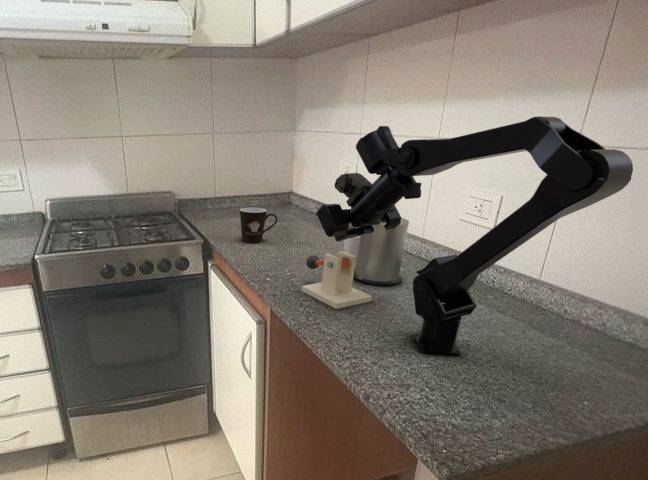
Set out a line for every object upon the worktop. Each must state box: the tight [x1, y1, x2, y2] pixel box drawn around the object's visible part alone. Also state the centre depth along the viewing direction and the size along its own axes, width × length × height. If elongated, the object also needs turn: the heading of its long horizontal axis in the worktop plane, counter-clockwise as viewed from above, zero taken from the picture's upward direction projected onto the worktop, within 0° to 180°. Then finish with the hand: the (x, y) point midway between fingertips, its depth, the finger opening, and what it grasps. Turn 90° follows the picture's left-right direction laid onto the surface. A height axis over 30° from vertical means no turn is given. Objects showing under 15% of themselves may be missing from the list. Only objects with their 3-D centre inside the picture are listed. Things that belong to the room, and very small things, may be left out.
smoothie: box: [343, 235, 361, 269], centre depth 117 cm, size 6×6×14 cm
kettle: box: [353, 217, 410, 288], centre depth 107 cm, size 16×12×16 cm
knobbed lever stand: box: [300, 251, 373, 310], centre depth 97 cm, size 12×10×10 cm
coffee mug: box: [239, 207, 278, 244], centre depth 142 cm, size 12×9×10 cm
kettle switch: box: [305, 254, 348, 270], centre depth 100 cm, size 12×3×3 cm, turn 29°
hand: (336, 239), depth 95 cm, fingers closed
